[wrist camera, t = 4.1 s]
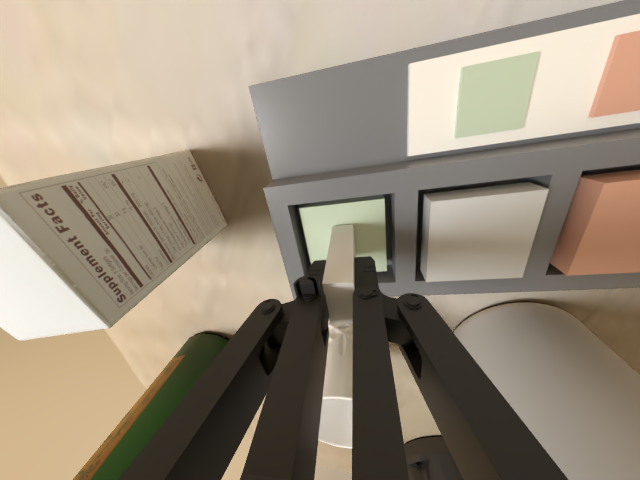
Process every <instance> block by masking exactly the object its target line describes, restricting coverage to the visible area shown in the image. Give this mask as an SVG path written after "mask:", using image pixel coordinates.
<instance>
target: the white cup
mask: <svg viewBox="0 0 640 480" xmlns="http://www.w3.org/2000/svg"><path fill="white" fill-rule="evenodd" d="M328 327H329V341H328V350H327V360H326V369H325V379H324V389H323V398H322V408H321V417H320V427H319V436H318V440H319V441H321V442H324V443H326V444H330V445H333V446H337V447H343V448H351V449H352V368H353V323H352V324H330V321H328Z"/></svg>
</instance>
